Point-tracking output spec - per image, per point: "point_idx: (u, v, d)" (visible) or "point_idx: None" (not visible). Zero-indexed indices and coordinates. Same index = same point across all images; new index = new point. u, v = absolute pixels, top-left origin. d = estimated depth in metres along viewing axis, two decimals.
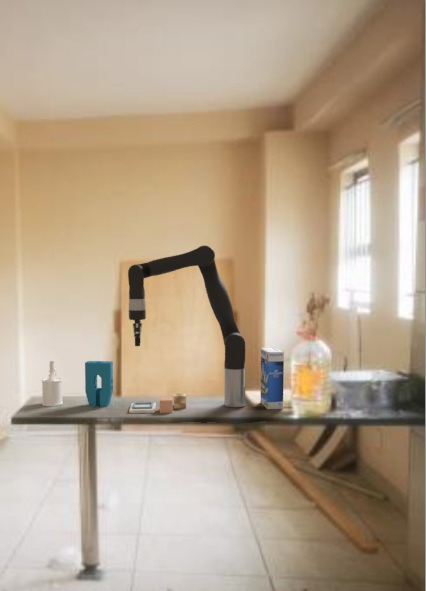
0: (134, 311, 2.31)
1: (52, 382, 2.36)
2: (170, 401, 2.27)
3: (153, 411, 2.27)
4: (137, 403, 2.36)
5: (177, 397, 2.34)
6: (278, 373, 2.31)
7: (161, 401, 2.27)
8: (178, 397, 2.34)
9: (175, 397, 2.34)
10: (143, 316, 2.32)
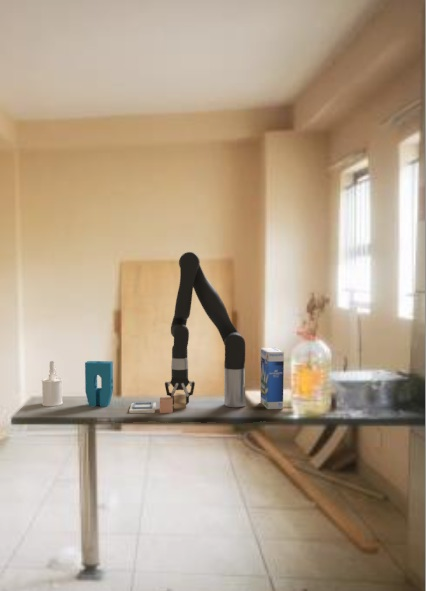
0: (187, 370, 2.35)
1: (52, 382, 2.36)
2: (170, 401, 2.27)
3: (153, 411, 2.27)
4: (137, 403, 2.36)
5: (177, 397, 2.34)
6: (278, 373, 2.31)
7: (161, 401, 2.26)
8: (178, 397, 2.34)
9: (175, 397, 2.34)
10: None
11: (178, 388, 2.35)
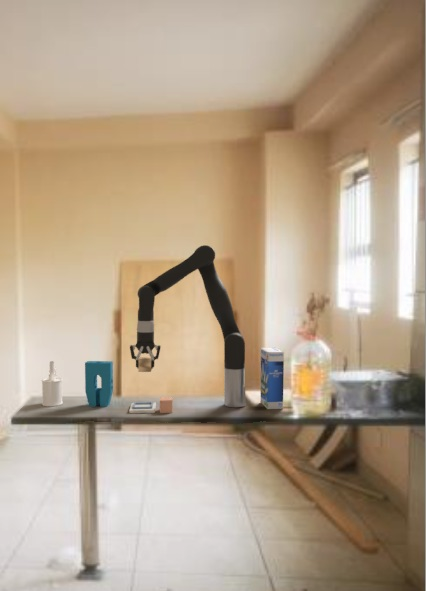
0: (153, 333, 2.31)
1: (52, 382, 2.36)
2: (170, 401, 2.27)
3: (153, 411, 2.27)
4: (137, 403, 2.36)
5: (142, 360, 2.30)
6: (278, 373, 2.31)
7: (161, 401, 2.27)
8: (143, 360, 2.30)
9: (140, 360, 2.30)
10: None
11: (143, 351, 2.31)
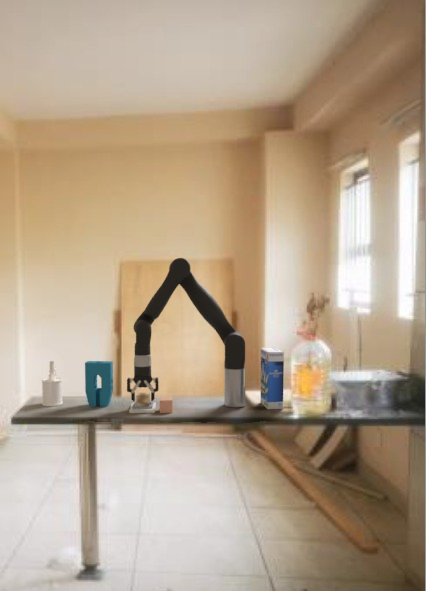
0: (150, 367, 2.31)
1: (52, 382, 2.36)
2: (170, 401, 2.27)
3: (153, 411, 2.27)
4: None
5: (140, 396, 2.30)
6: (278, 373, 2.31)
7: (161, 401, 2.26)
8: (141, 396, 2.30)
9: (138, 396, 2.30)
10: None
11: (141, 385, 2.31)
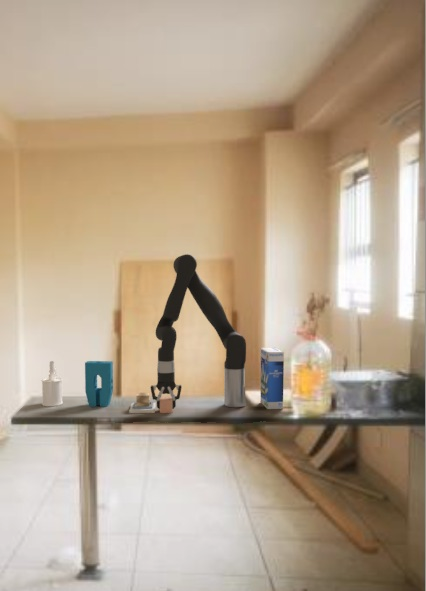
0: (174, 373, 2.28)
1: (52, 382, 2.36)
2: (170, 401, 2.27)
3: (153, 411, 2.27)
4: None
5: (140, 396, 2.30)
6: (278, 373, 2.31)
7: (161, 401, 2.27)
8: (141, 396, 2.30)
9: (138, 396, 2.30)
10: None
11: (164, 392, 2.28)
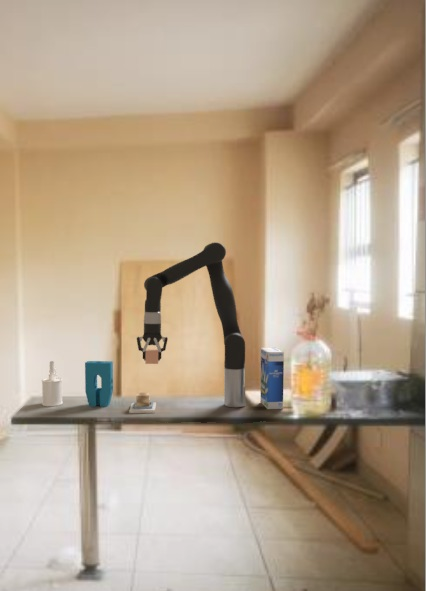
0: (160, 324, 2.29)
1: (52, 382, 2.36)
2: (156, 352, 2.27)
3: (153, 411, 2.27)
4: None
5: (140, 396, 2.30)
6: (278, 373, 2.31)
7: (147, 352, 2.27)
8: (141, 396, 2.30)
9: (138, 396, 2.30)
10: None
11: (150, 343, 2.29)
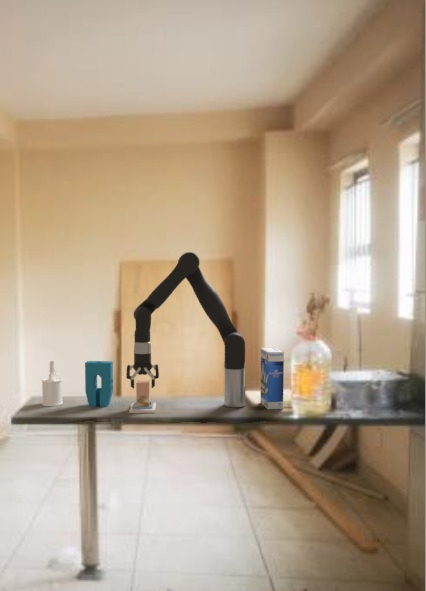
0: (150, 354, 2.31)
1: (52, 382, 2.36)
2: (146, 384, 2.30)
3: (153, 411, 2.27)
4: None
5: (140, 396, 2.30)
6: (278, 373, 2.31)
7: (138, 384, 2.30)
8: (141, 396, 2.30)
9: (138, 396, 2.30)
10: None
11: (141, 373, 2.31)
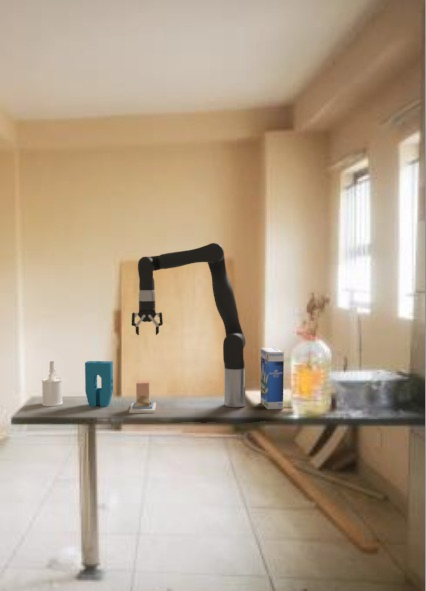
0: (154, 302, 2.40)
1: (52, 382, 2.36)
2: (146, 384, 2.30)
3: (153, 411, 2.27)
4: None
5: (140, 396, 2.30)
6: (278, 373, 2.31)
7: (138, 384, 2.30)
8: (141, 396, 2.30)
9: (138, 396, 2.30)
10: None
11: (145, 320, 2.40)
